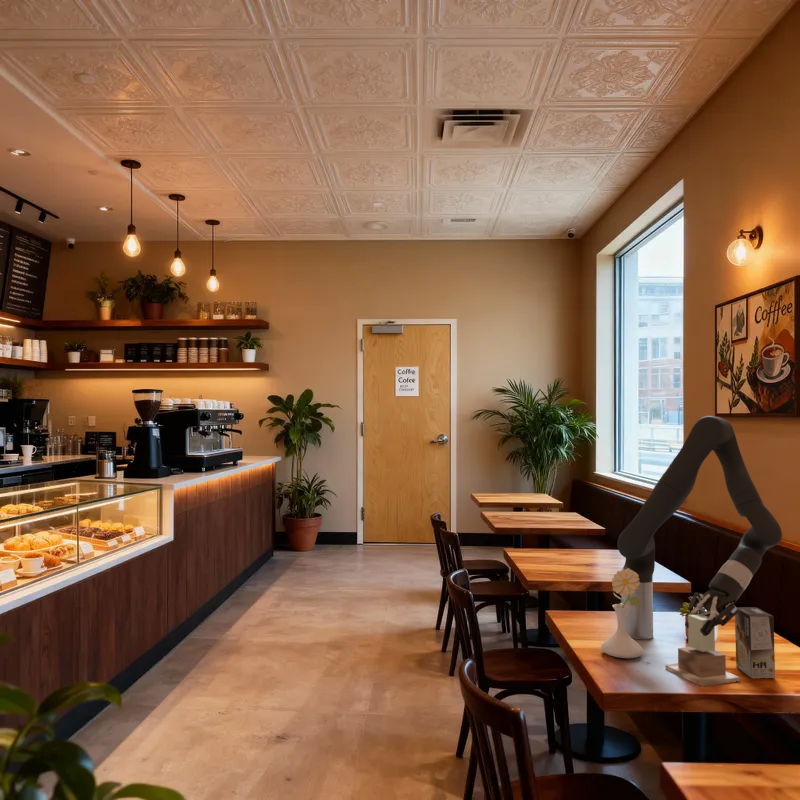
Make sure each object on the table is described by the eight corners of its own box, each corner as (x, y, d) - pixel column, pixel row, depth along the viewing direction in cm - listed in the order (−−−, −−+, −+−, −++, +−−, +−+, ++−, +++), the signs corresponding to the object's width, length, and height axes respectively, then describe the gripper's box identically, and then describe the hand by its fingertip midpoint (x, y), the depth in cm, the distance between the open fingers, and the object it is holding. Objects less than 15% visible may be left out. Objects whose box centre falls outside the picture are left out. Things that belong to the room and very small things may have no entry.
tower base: (665, 668, 177) (665, 646, 178) (701, 664, 181) (701, 641, 181) (701, 686, 165) (701, 662, 165) (739, 681, 169) (739, 657, 169)
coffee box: (776, 679, 170) (775, 616, 171) (751, 678, 170) (750, 615, 171) (758, 666, 179) (757, 606, 180) (734, 666, 180) (733, 606, 180)
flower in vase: (592, 651, 191) (592, 564, 192) (624, 646, 195) (623, 561, 197) (623, 666, 179) (622, 573, 180) (656, 661, 183) (655, 570, 185)
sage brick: (688, 645, 175) (687, 615, 176) (700, 644, 176) (700, 613, 177) (702, 651, 170) (701, 620, 171) (714, 650, 172) (714, 619, 172)
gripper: (702, 566, 184) (667, 614, 179) (744, 577, 170) (707, 629, 166) (718, 584, 185) (684, 632, 181) (760, 596, 171) (724, 648, 167)
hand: (695, 630), depth 173 cm, fingers closed on sage brick, 4 cm apart
